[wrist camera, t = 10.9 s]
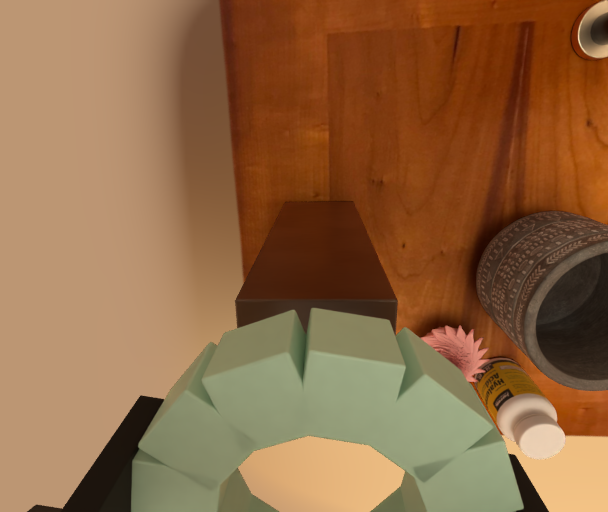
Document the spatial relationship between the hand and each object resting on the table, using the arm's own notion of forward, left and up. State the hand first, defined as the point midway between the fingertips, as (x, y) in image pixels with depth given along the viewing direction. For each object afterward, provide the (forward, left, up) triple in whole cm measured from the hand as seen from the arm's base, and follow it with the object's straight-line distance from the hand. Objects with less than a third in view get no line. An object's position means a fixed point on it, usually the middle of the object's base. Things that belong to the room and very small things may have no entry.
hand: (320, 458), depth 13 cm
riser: (0, 0, -29) cm, 29 cm away
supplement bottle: (+26, 0, -29) cm, 39 cm away
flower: (+18, -1, -29) cm, 34 cm away
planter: (+18, +11, -29) cm, 36 cm away
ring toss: (+7, +29, -29) cm, 41 cm away
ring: (0, 0, 0) cm, 0 cm away
